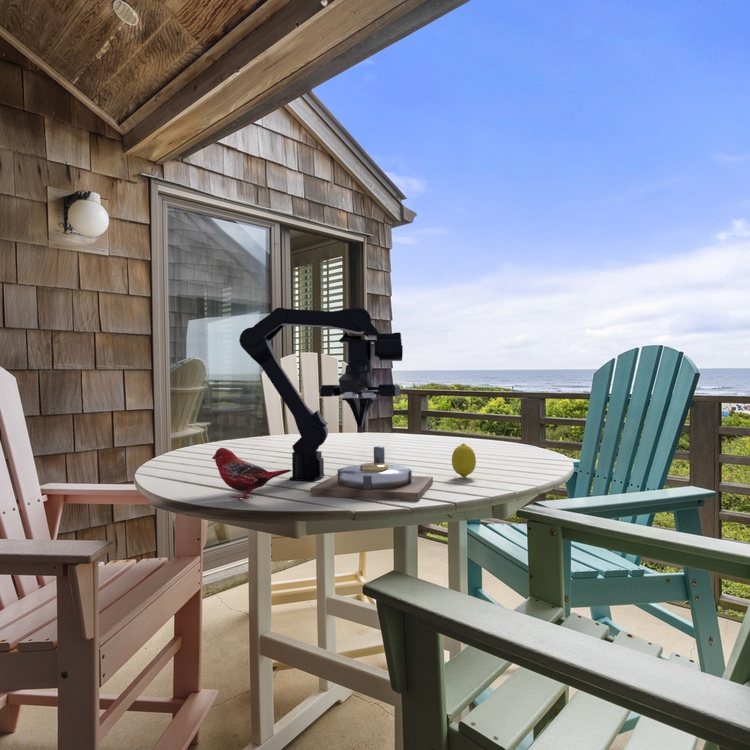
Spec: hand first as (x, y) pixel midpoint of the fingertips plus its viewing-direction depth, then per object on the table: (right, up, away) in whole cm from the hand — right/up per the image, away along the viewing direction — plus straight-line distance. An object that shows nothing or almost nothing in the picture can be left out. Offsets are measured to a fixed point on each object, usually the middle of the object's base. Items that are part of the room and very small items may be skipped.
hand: (360, 427), depth 121 cm
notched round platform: (+3, -10, -14) cm, 18 cm away
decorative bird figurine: (-21, -12, -22) cm, 33 cm away
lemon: (+24, -12, -3) cm, 27 cm away
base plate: (+3, -12, -14) cm, 18 cm away
